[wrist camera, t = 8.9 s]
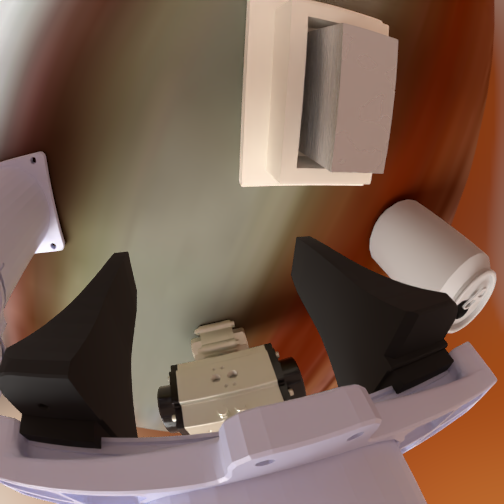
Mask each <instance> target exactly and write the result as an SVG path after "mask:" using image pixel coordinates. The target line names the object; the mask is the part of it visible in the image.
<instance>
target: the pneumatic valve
mask: <svg viewBox="0 0 504 504" xmlns="http://www.w3.org/2000/svg"><path fill="white" fill-rule="evenodd" d="M233 327H235V324H234V321H230V319H229V320H225V321H221V322H217V323H212V324H208V325H204V326H199V328H198V329H195V331H194V333H195V334H196V335H200V337H198V338H193V339H192V340H191V348H192V352H193V355H194V358H195V360H196V361H193V362H188V363H183V364H177V365H172V366H171V372H169V377H168V379H169V382H170V385H167V386H161V387H159V389H158V394H157V399H158V407H159V412H160V415H161V418H162V421H163V423H164V425H165V427H166V429H167V430H168V431H169V432H170V433H177V432H180V433H181V434H182V435H193V434H202V433H211V432H218V431H219V429H220V427H221V425H222V424H223V422H224V421H225V420H226V419H228V418H229V417H231V416H233V415H235V414H237V413H238V412H241V411H245V410H248V409H252V408H255V407H259V406H264V405H269V404H274V403H278V402H283V401H288V400H292V399H296V398H300V397H304V396H306V391H305V386H304V382H303V379H302V376H301V373H300V370H299V368H298V365H297V363H296V362H295V360H294V359H293V358H292V357H289V358H285V359H282V360H278V358H279V353H278V352H275V350H274V348H272V345H271V343H269V344H265V345H261V346H257V347H253V348H249V347H248V343H247V339H246V335H245V332H244V329H243V328H237V329H233V330H232V328H233Z"/></svg>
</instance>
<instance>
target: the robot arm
mask: <svg viewBox="0 0 504 504" xmlns="http://www.w3.org/2000/svg"><path fill="white" fill-rule="evenodd" d="M33 157H34V158H35V159H36V163H34V162H33ZM52 243H54V244H55V245H56V246H53V244H52ZM64 247H65V241H64V238H63V234H62V230H61V227H60V223H59V219H58V215H57V210H56V206H55V202H54V197H53V192H52V187H51V182H50V177H49V171H48V165H47V159H46V155H45V153H44V152H42V151H39V152H35V153H31V154H27V155H23V156H19V157H16V158H12V159H8V160H5V161H2V162H0V396H1V394H2V393H3V395H4V396H5V397H6V398H7V399H8V400H9V401H10V402H11V403H12V404H13V405H14V406H15V407H16V408H17V409H18V410H19V411H20V412H21V413H22V418H21V422H20V421H18V420H17V419H14V418H11V417H6V416H1V415H0V483H2V484H3V485H6V486H7V487H9V488H11V489H13V490H15V491H17V492H19V493H21V494H24V495H27V496H30V497H34V498H37V499H41V500H46V501H49V502H53V503H57V504H427V503H426V501H425V499H424V497H423V494H422V493H421V490H420V488H419V487H418V485H417V482H416V480H415V478H414V476H413V474H412V472H411V470H410V469H409V466H408V464H407V463H406V461H405V459H404V457H403V455H402V454H403V453H405V452H407V451H408V450H410V449H412V448H413V447H415V446H417V445H418V444H420V443H422V442H423V441H425V440H426V439H428V438H429V437H431V436H433V435H434V434H435V433H437V432H439V431H440V430H442V429H443V428H444V427H446V426H448V425H449V424H450V423H452V422H453V421H455V420H456V419H458V418H459V417H460V416H462V415H463V414H464V413H466V412H467V411H468V410H469V409H470V408H471V407H473V405H475V404H476V403H477V402H478V401H479V400H480V399H481V398H482V397H483V396H484V394H485V393H486V392H487V391H488V390H489V389H490V388H491V387H492V386H493V385H494V384H495V383H496V382H497V378H496V377H495V375H494V374H493V373H492V371H491V370H490V369H489V367H488V366H487V365H486V363H485V362H484V361H483V359H482V358H481V357H480V355H479V354H478V353H477V352H476V350H475V349H474V348H473V347H472V345H471V344H470V343H469V342H466V343H464V344H462V345H460V346H458V347H456V348H454V349H453V350H452V351H451V352H450V353H448V352H447V351H446V349H445V348H446V347H447V342H446V341H445V340H444V337H445V336H446V334H447V333H448V331H449V329H450V328H451V326H452V324H453V323H454V321H455V319H456V316H457V313H458V306H457V304H456V303H455V302H454V301H453V299H452V298H451V297H450V296H449V295H448V294H447V293H443V292H438V291H432V290H427V289H422V288H418V287H415V286H411V285H407V284H404V283H401V282H398V281H395V280H393V279H390V278H387V277H385V276H382V275H380V274H378V273H375V272H373V271H371V270H369V269H367V268H365V267H363V266H361V265H359V264H357V263H355V262H353V261H352V260H350V259H348V258H346V257H345V256H343V255H341V254H340V253H338V252H336V251H334V250H333V249H331V248H330V247H328V246H326V245H325V244H323V243H321V242H319V241H318V240H316V239H314V238H312V237H310V236H307V237H297V238H296V245H295V252H294V259H293V266H292V272H291V276H292V279H293V282H294V285H295V287H296V290H297V292H298V295H299V296H300V298H301V300H302V302H303V304H304V306H305V308H306V309H307V311H308V313H309V315H310V317H311V319H312V320H313V322H314V324H315V326H316V328H317V330H318V332H319V334H320V336H321V338H322V341H323V343H324V346H325V348H326V351H327V353H328V356H329V359H330V362H331V365H332V368H333V371H334V374H335V377H336V380H337V384H338V388H334V389H331V390H327V391H324V392H320V393H316V394H312V395H308V396H304V397H300V398H296V399H292V400H288V401H283V402H278V403H274V404H269V405H264V406H259V407H255V408H252V409H248V410H245V411H241V412H238V413H237V414H235V415H233V416H231V417H229V418H228V419H226V420H225V421H224V422H223V424H222V425H221V427H220V429H219V431H218V432H211V433H202V434H193V435H182V436H169V437H146V438H138V437H137V430H136V423H135V415H134V406H133V395H132V379H131V353H132V344H133V335H134V327H135V319H136V311H137V289H136V285H135V281H134V277H133V272H132V268H131V263H130V258H129V254H128V252H120V253H114V254H113V255H112V256H111V258H110V259H109V260H108V261H107V262H106V264H105V265H104V266H103V267H102V269H101V270H100V271H99V272H98V274H97V275H96V276H95V277H94V278H93V280H92V281H91V282H90V283H89V284H88V285H87V286H86V287H85V289H84V290H83V291H82V292H81V293H80V294H79V295H78V296H77V297H76V298H75V299H74V300H73V301H72V302H71V303H70V304H69V305H68V306H67V307H66V308H65V309H64V310H63V311H61V312H60V313H59V314H58V315H57V316H55V317H54V318H53V319H52V320H50V321H49V322H48V323H47V324H45V325H44V326H43V327H41V328H40V329H38V330H37V331H35V332H34V333H32V334H31V335H29V336H28V337H26V338H25V339H23V340H21V341H19V342H17V343H16V344H14V345H12V346H10V347H8V348H6V346H5V344H4V343H3V341H2V339H1V337H2V334H3V332H4V330H5V327H6V325H7V323H6V321H5V319H4V315H3V310H4V308H5V306H6V304H7V302H8V300H9V298H10V296H11V294H12V292H13V290H14V288H15V286H16V284H17V283H18V281H19V279H20V277H21V275H22V274H23V272H24V270H25V268H26V267H27V265H28V263H29V262H30V260H31V258H32V257H33V255H34V254H35V253H43V252H52V251H61V250H63V249H64Z"/></svg>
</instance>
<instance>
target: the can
mask: <svg viewBox="0 0 504 504" xmlns="http://www.w3.org/2000/svg"><path fill="white" fill-rule="evenodd" d="M370 252H371V256H372V258H373V259H374V260H375V261H376V262H377V263H378V264H379V266H380V267H381V268H382V269H383V270H384V271H385V272H386V273H387V274H388V275H389V277H390V278H391V279H393V280H395V281H398V282H401V283H404V284H407V285H411V286H415V287H418V288H422V289H427V290H432V291H438V292H443V293H447V294H448V295H449V296H450V297H451V298H452V299H453V301H454V302H455V303H456V304H457V306H458V313H457V316H456V319H455V321H454V323H453V324H452V326H451V328H450V329H449V331H448V333H454V332H456V331H458V330H460V329H462V328H463V327H465V326H466V325H467V324H468V323H470V322H471V321H472V320H473V319H474V318H475V317H476V316H477V315H478V314H479V312H480V311H481V310H482V308H483V307H484V306H485V304H486V303H487V301H488V300H489V298H490V296H491V294H492V292H493V290H494V287H495V284H496V273H495V272H494V271H493V270H491V269H490V261H489V257H488V256H487V255H486V254H485V253H484V252H483V251H482V250H480V249H479V248H478V247H477V246H476V245H474V244H473V243H472V242H471V241H470V240H468V239H467V238H466V237H465V236H463V235H462V234H461V233H459V232H458V231H457V230H456V229H454V228H453V227H452V226H450V225H449V224H448V223H446V222H445V221H444V220H442V219H441V218H440V217H438V216H437V215H435V214H434V213H433V212H431V211H430V210H428V209H427V208H426V207H424V206H423V205H421V204H420V203H418V202H417V201H415V200H408V199H407V200H403V201H400V202H397V203H396V204H394V205H393V206H391V207H390V208H388V209H386V210H385V211H384V212H383V214H382V215H381V216H380V217H379V218H378V220H377V222H376V223H375V225H374V228H373V231H372V235H371V238H370Z"/></svg>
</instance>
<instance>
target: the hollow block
mask: <svg viewBox="0 0 504 504" xmlns="http://www.w3.org/2000/svg"><path fill="white" fill-rule="evenodd" d="M340 23H346V24H350V25H354V26H357V27H361V28H364V29H368V30H371V31H374V32H377V33H380V34H383V35H386V36H389V25H386V24H383V23H382V21H381V20H378V19H376V18H373V17H370V16H367V15H364V14H361V13H358V12H355V11H351V10H348V9H345V8H341V7H337V6H334V5H330V4H326V3H322V2H317V1H313V0H247V12H246V30H245V49H244V69H243V91H242V115H241V141H240V170H239V183H240V185H241V186H242V187H252V186H287V185H355V186H363V184H370V182H371V176H372V173H349V172H330V171H328V170H327V169H326V168H324V167H323V166H321V165H320V164H318V163H317V162H315V161H314V160H312V159H311V158H309V157H308V156H306V155H304V154H303V153H301V152H300V151H298V149H299V138H300V127H301V116H302V104H303V91H304V78H305V64H306V48H307V32H310V31H313V30H317V29H320V28H324V27H328V26H332V25H336V24H340Z"/></svg>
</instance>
